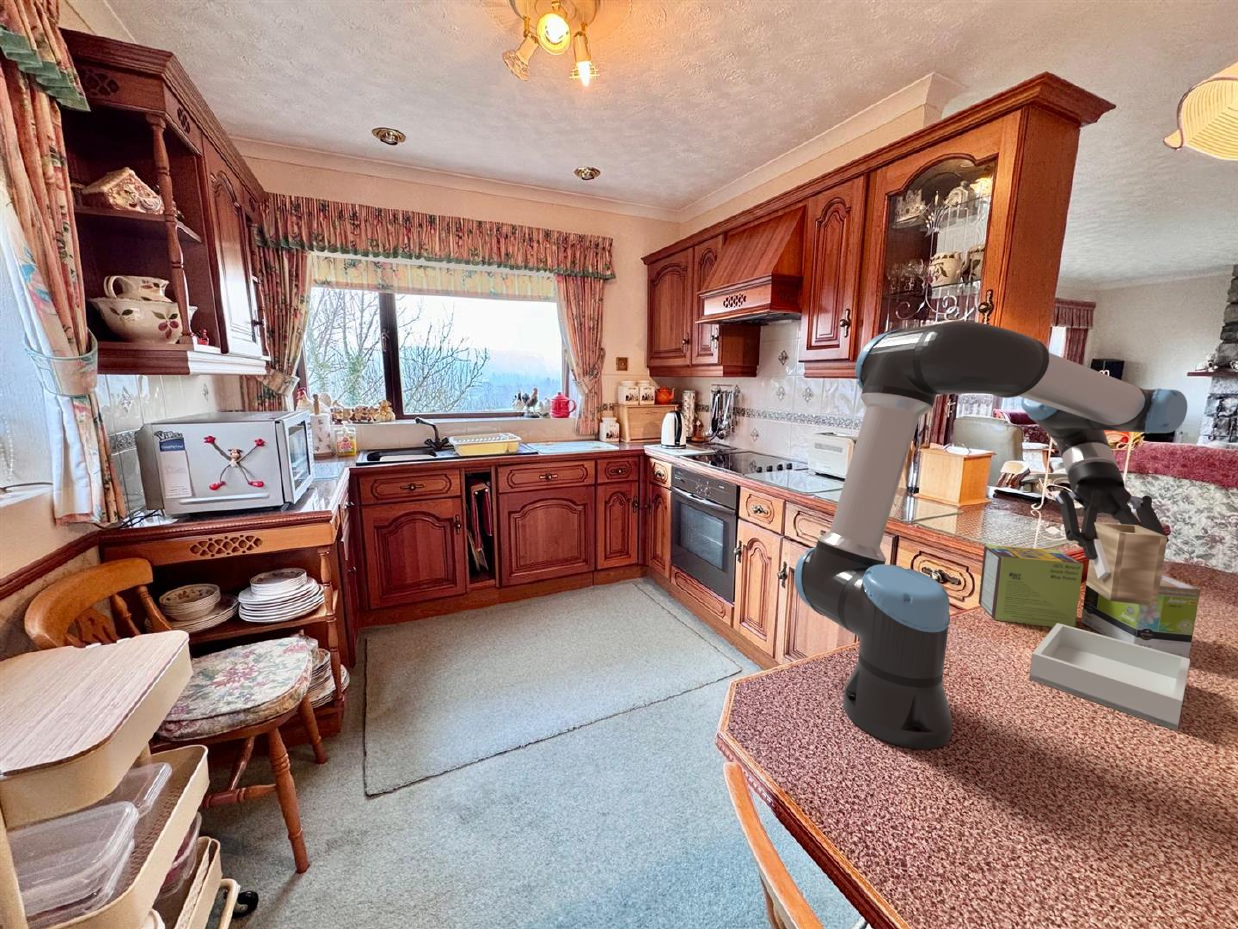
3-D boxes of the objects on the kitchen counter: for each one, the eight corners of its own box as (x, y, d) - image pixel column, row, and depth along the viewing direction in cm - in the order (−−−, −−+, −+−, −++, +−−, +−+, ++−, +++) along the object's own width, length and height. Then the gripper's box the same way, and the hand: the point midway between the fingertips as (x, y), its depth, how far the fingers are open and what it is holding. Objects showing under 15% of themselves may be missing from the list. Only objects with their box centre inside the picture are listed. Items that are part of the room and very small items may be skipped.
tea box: (1191, 660, 97) (1204, 588, 95) (1131, 654, 99) (1142, 584, 97) (1129, 626, 111) (1139, 563, 109) (1078, 621, 113) (1086, 560, 111)
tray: (1028, 679, 89) (1032, 653, 89) (1054, 645, 102) (1057, 623, 101) (1177, 731, 75) (1182, 701, 75) (1185, 685, 88) (1190, 659, 87)
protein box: (1076, 630, 109) (1085, 563, 107) (994, 620, 113) (1001, 556, 111) (1051, 611, 119) (1059, 549, 117) (976, 603, 123) (983, 543, 121)
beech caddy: (1110, 600, 84) (1119, 532, 82) (1086, 584, 91) (1094, 522, 90) (1156, 606, 82) (1167, 536, 80) (1128, 589, 89) (1137, 525, 87)
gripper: (1145, 485, 96) (1191, 595, 83) (1026, 479, 103) (1051, 580, 90) (1167, 462, 91) (1220, 576, 78) (1039, 457, 98) (1069, 561, 85)
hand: (1129, 578), depth 84 cm, fingers closed on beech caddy, 6 cm apart
